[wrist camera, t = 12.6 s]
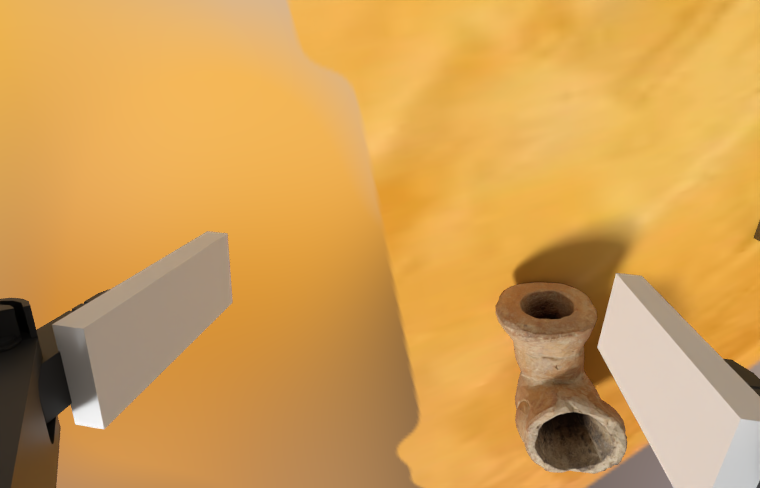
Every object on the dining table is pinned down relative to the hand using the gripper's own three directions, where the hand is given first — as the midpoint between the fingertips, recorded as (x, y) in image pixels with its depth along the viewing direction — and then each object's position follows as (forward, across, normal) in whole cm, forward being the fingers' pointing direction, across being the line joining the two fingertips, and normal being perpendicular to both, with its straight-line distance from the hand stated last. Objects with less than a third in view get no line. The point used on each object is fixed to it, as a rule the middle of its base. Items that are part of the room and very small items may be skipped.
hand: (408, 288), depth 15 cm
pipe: (+29, +13, -19) cm, 37 cm away
